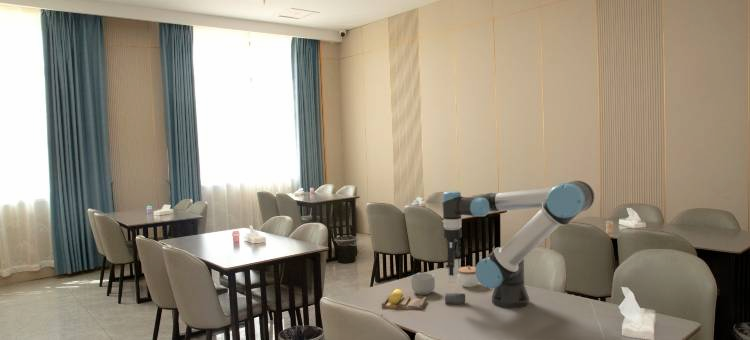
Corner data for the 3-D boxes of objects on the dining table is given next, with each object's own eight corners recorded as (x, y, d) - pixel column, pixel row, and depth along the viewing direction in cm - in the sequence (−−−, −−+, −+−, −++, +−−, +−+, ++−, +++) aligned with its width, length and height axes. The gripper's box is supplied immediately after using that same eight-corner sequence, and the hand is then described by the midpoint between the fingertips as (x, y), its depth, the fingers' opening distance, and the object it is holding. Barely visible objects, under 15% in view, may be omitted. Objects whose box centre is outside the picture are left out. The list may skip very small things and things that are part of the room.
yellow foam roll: (399, 304, 221) (397, 294, 221) (389, 304, 222) (387, 294, 222) (403, 298, 228) (402, 288, 228) (393, 299, 230) (392, 289, 229)
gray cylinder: (465, 304, 223) (465, 293, 224) (464, 304, 219) (464, 293, 220) (446, 303, 225) (446, 292, 226) (445, 303, 221) (445, 292, 222)
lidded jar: (453, 285, 249) (452, 266, 249) (467, 281, 256) (466, 262, 256) (471, 290, 241) (471, 269, 241) (485, 284, 248) (485, 265, 248)
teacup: (436, 296, 234) (435, 278, 234) (411, 296, 235) (411, 279, 234) (433, 287, 248) (432, 270, 248) (410, 288, 249) (409, 271, 248)
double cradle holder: (426, 301, 227) (426, 296, 227) (422, 309, 216) (421, 304, 216) (388, 300, 231) (387, 295, 231) (381, 308, 221) (381, 303, 221)
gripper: (447, 223, 233) (448, 270, 235) (439, 233, 209) (440, 286, 211) (464, 223, 232) (465, 271, 233) (458, 234, 207) (459, 287, 209)
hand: (453, 278), depth 222 cm, fingers open, 13 cm apart
